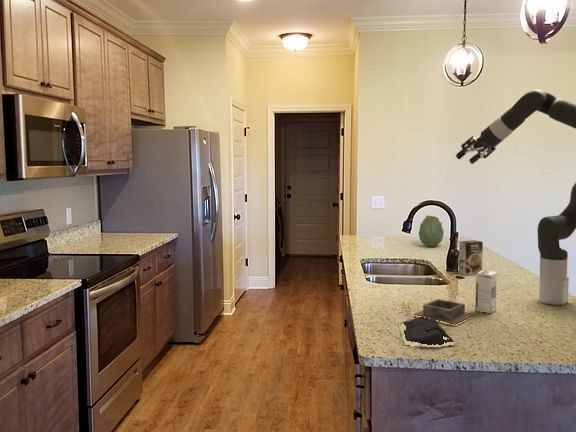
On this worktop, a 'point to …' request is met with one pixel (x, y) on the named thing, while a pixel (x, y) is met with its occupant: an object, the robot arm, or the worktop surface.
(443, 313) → the socket board
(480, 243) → the coffee box
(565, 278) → the robot arm
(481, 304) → the syrup box
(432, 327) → the dark slate chunk
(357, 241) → the worktop surface
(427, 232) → the cabbage
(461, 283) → the worktop surface
